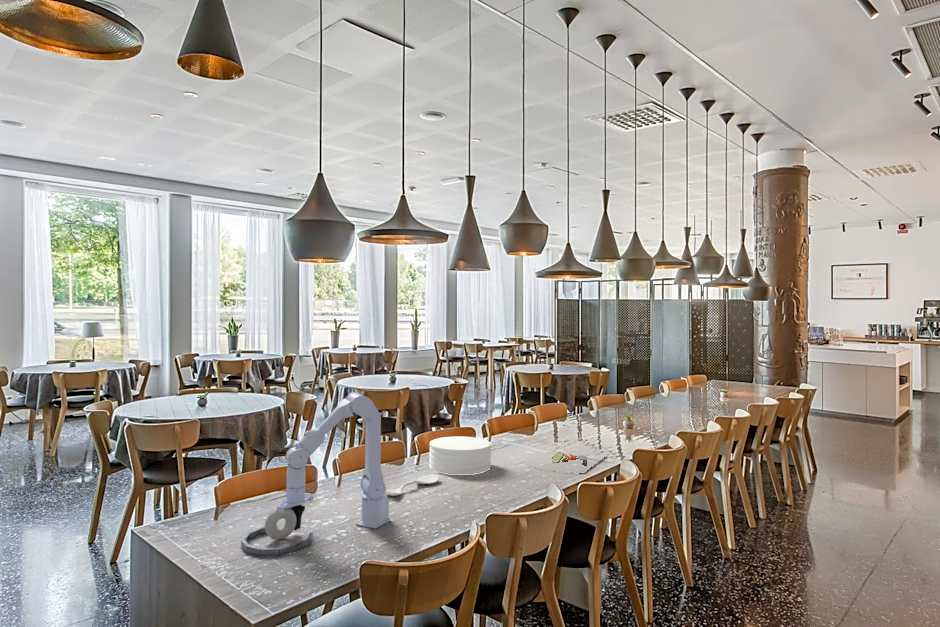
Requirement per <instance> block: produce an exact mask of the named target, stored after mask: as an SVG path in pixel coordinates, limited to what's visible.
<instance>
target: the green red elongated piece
mask: <svg viewBox="0 0 940 627" xmlns="http://www.w3.org/2000/svg"><path fill="white" fill-rule="evenodd" d="M564 455H565V454H564V453H561V452H558V453H556V454H555V456H553V457H552V462H553V463H559V462H560V460H561V459H562V458H563V456H564ZM570 456H571V457H569V456H567V455H565V457H566V458H564V459H563V460H562V462H568V460H576V459H580V460H583V463H582V465H584V466H587V457H586V456H583V455H582V456H581V455H580V456H579V457H578V458H576V457H577V456H573V455H571V454H570ZM567 458H568V459H567ZM566 459H567V460H566Z"/></svg>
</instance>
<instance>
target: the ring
mask: <svg viewBox="0 0 940 627" xmlns="http://www.w3.org/2000/svg"><path fill="white" fill-rule="evenodd" d="M276 527H277V528H278V525H277V524H276ZM263 535H264V536H265V535H267V534H266V532H265V526H263V527H258V528H256V529H254V530H251V531H250V532H249V531H248V532H247V533H245V535H244V536H243V537H242V539H241V543H240V544H241V548H242V550H243V549H244V550H243V551H244V553H245V554H248V553H249V554H248V555H251V556H256V557H261V558H262V557H263V556H267V557H282V555H283V556H286V554H287V555H290V554H289V553H292V554H294V553H293V552H296V553H298V552H297V551H299V552H301V551H303V550H305V549H306V547H307V548H308V547H310V546H311V545H312V542H313V540H314V532H309V534H308V535H307V538H305V539H304V540H301V541H299V542H298V543H296V544H290V545H287V546H286V545H285V546H283V547H281V546H280V547H259V546H253V545H250V544H249V542H250V541H251V540H254V539H256V538H258V537H260V536H263ZM312 539H313V540H312ZM248 541H249V542H248ZM304 548H305V549H304ZM302 549H303V550H302ZM300 550H301V551H300Z"/></svg>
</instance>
